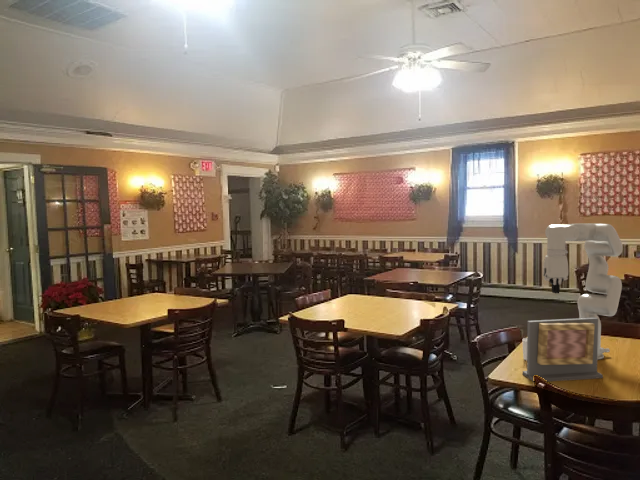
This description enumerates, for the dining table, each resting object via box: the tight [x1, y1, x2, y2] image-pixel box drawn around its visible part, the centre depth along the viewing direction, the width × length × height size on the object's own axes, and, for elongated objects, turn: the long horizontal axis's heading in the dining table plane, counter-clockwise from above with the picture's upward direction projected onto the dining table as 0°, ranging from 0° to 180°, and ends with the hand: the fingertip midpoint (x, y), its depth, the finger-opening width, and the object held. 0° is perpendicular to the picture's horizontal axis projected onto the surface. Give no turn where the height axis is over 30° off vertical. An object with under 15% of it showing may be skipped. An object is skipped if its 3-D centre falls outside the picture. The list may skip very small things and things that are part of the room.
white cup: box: [522, 337, 527, 362], centre depth 246 cm, size 8×8×10 cm
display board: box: [522, 317, 604, 382], centre depth 222 cm, size 32×10×26 cm, turn 95°
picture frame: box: [537, 322, 595, 365], centre depth 219 cm, size 24×3×18 cm, turn 95°
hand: (555, 292), depth 226 cm, fingers closed
